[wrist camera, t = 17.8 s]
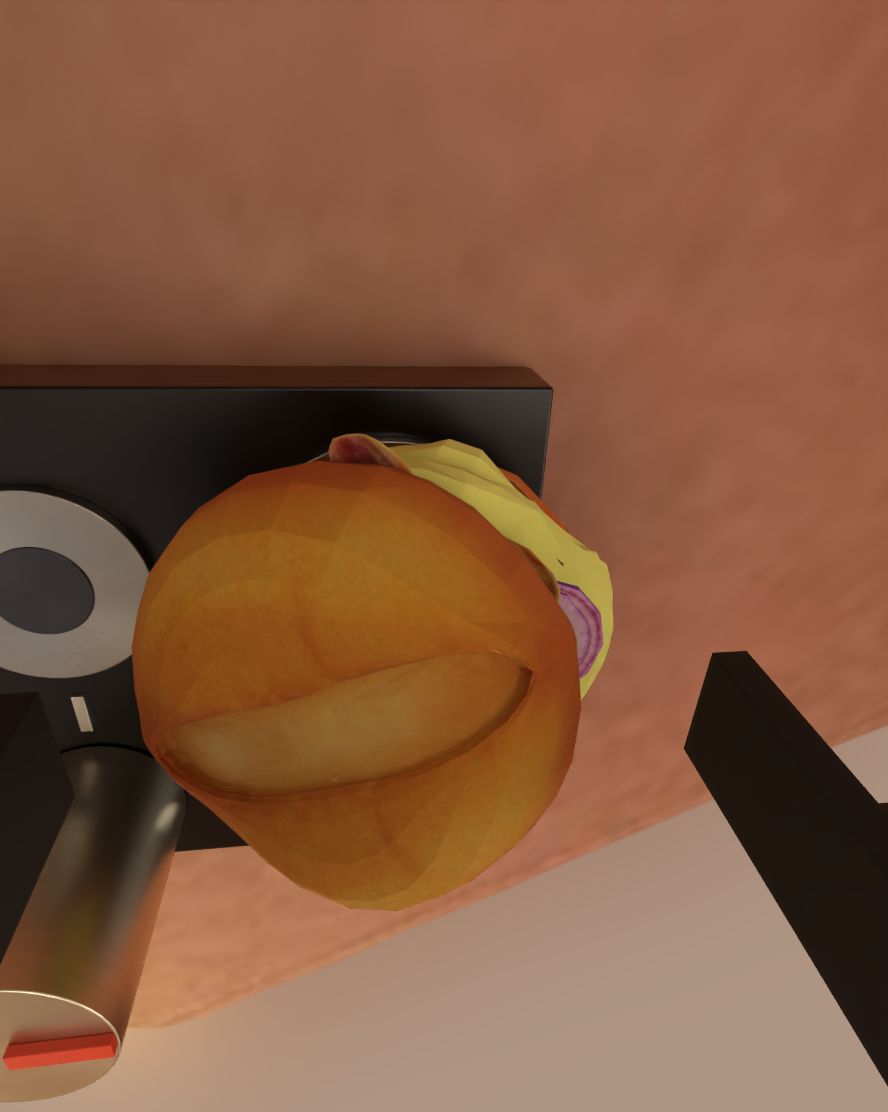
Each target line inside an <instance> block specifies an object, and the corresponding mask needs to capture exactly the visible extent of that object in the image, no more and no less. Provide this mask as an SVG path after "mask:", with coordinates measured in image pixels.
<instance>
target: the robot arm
mask: <svg viewBox="0 0 888 1112" xmlns="http://www.w3.org/2000/svg"><path fill="white" fill-rule="evenodd" d="M684 750H685V751H686V753H687V755H688V756H689V758H690V760H691V761H692V763H693V765H694V766H695V768H696V770H697V771H698V773H699V775H700V776H701V778H702V780H703V781H704V783H705V785H706V786H707V788H708V790H709V791H710V793H711V794H712V796H713V798H714V799H715V801H716V803H717V804H718V806H719V808H720V809H721V811H722V813H723V814H724V816H725V818H726V819H727V821H728V823H729V824H730V826H731V828H732V829H733V831H734V832H735V834H736V836H737V837H738V839H739V841H740V843H741V844H742V846H743V847H744V849H745V851H746V852H747V854H748V856H749V857H750V859H751V861H752V862H753V864H754V866H755V867H756V869H757V871H758V872H759V874H760V876H761V877H762V879H763V881H764V882H765V884H766V886H767V887H768V889H769V891H770V892H771V894H772V895H773V897H774V899H775V900H776V902H777V904H778V905H779V907H780V909H781V910H782V912H783V914H784V915H785V917H786V919H787V920H788V922H789V924H790V925H791V927H792V928H793V930H794V932H795V934H796V935H797V937H798V939H799V940H800V942H801V943H802V945H803V947H804V948H805V950H806V952H807V953H808V955H809V957H810V958H811V960H812V962H813V963H814V965H815V967H816V968H817V970H818V972H819V973H820V975H821V977H822V978H823V980H824V981H825V983H826V985H827V987H828V988H829V990H830V992H831V993H832V995H833V996H834V998H835V1000H836V1001H837V1003H838V1005H839V1006H840V1008H841V1010H842V1011H843V1013H844V1015H845V1016H846V1018H847V1020H848V1021H849V1023H850V1024H851V1026H852V1028H853V1029H854V1031H855V1033H856V1035H857V1036H858V1038H859V1040H860V1041H861V1043H862V1044H863V1046H864V1048H865V1049H866V1051H867V1053H868V1054H869V1056H870V1058H871V1059H872V1061H873V1063H874V1064H875V1066H876V1068H877V1069H878V1071H879V1073H880V1074H881V1076H882V1078H883V1079H884V1081H885V1083H886V1084H887V1086H888V803H877V801H876V800H875V799H874V798H873V796H872V795H871V794H870V793H869V792H868V791H867V790H866V788H865V787H864V786H863V785H862V784H861V783H860V782H859V780H858V779H857V778H856V777H855V776H854V775H853V773H852V772H851V771H850V770H849V769H848V768H847V767H846V765H845V764H844V763H843V762H842V761H841V760H840V759H839V757H838V756H837V755H836V754H835V753H834V752H833V750H832V749H831V748H830V747H829V746H828V745H827V743H826V742H825V741H824V740H823V739H822V738H821V736H820V735H819V734H818V733H817V732H816V731H815V730H814V728H813V727H812V726H811V725H810V724H809V723H808V721H807V720H806V719H805V718H804V717H803V716H802V715H801V713H800V712H799V711H798V710H797V709H796V708H795V706H794V705H793V704H792V703H791V702H790V701H789V700H788V698H787V697H786V696H785V695H784V694H783V693H782V691H781V690H780V689H779V688H778V687H777V686H776V685H775V683H774V682H773V681H772V680H771V679H770V678H769V676H768V675H767V674H766V673H765V672H764V671H763V670H762V668H761V667H760V666H759V665H758V664H757V663H756V661H755V660H754V659H753V658H752V657H751V656H750V655H749V653H748V652H747V651H738V652H720V653H712V656H711V659H710V663H709V666H708V669H707V673H706V676H705V679H704V683H703V686H702V689H701V693H700V696H699V699H698V703H697V706H696V709H695V713H694V716H693V719H692V723H691V726H690V729H689V733H688V736H687V739H686V743H685V746H684ZM74 798H75V794H74V791H73V789H72V786H71V783H70V780H69V777H68V774H67V772H66V769H65V766H64V763H63V760H62V757H61V755H60V752H59V749H58V746H57V743H56V741H55V738H54V735H53V732H52V729H51V726H50V724H49V721H48V718H47V715H46V712H45V709H44V707H43V704H42V701H41V698H40V695H39V693H38V692H27V693H9V694H0V965H1V962H2V960H3V958H4V956H5V953H6V951H7V949H8V947H9V944H10V942H11V940H12V938H13V935H14V933H15V931H16V928H17V926H18V924H19V922H20V919H21V917H22V915H23V913H24V910H25V908H26V906H27V904H28V901H29V899H30V897H31V895H32V892H33V890H34V888H35V886H36V883H37V881H38V879H39V877H40V874H41V872H42V870H43V868H44V865H45V863H46V861H47V859H48V856H49V854H50V852H51V849H52V847H53V845H54V843H55V840H56V838H57V836H58V834H59V831H60V829H61V827H62V825H63V822H64V820H65V818H66V816H67V813H68V811H69V809H70V807H71V804H72V802H73V800H74Z"/></svg>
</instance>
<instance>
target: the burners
mask: <svg viewBox="0 0 888 1112" xmlns="http://www.w3.org/2000/svg"><path fill="white" fill-rule="evenodd" d="M374 439H376V440H378V441H380V442H381V443H382V444H384V445H385V446H386V447H394V446H403V445H415V444H429V442H426V441H420V440H415V439H409V438H398V437H376V438H374ZM328 451H329V448H327V449H324V450H322V451H320V452H318V453H316V454H314V455H312V456H310V457H308V458H306V459H305V460H303V461H302V462H300V463H299V464H304V463H308V462H314V461H329V462H330V457H329V452H328ZM299 464H297V465H299ZM152 568H153V565H152V563H151V560H150V558H149V556H148V555H147V553H146V551H145V550H144V548H143V547H142V545H141V544H140V543H139V541H138V540H137V539H136V538H135V536H134V535H133V534H132V533H131V532H130V531H129V530H128V529H127V528H126V527H125V526H124V525H123V524H122V523H120V522H119V521H118V520H116V519H115V518H114V517H113V516H111V515H110V514H109V513H107V512H105V511H104V510H102V509H101V508H99V507H97V506H96V505H94V504H92V503H90V502H88V501H86V500H84V499H81V498H79V497H76V496H74V495H71V494H68V493H65V492H62V491H58V490H54V489H50V488H44V487H37V486H26V485H9V486H0V667H2V668H4V669H7V670H10V671H13V672H17V673H21V674H25V675H30V676H36V677H45V678H73V677H81V676H86V675H91V674H95V673H98V672H101V671H104V670H107V669H109V668H111V667H113V666H115V665H117V664H119V663H120V662H122V661H124V660H125V659H127V658H128V657H129V656H131V655H132V642H133V636H134V630H135V624H136V618H137V612H138V608H139V604H140V601H141V598H142V595H143V591H144V588H145V585H146V582H147V578H148V575H149V573H150V571H151V570H152Z"/></svg>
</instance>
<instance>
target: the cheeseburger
mask: <svg viewBox="0 0 888 1112" xmlns="http://www.w3.org/2000/svg"><path fill="white" fill-rule="evenodd" d="M328 452H329V457H330V462H329V461H314V462H308V463H304V464H299V465H294V466H290V467H285V468H280V469H276V470H271V471H266V472H262V473H257V474H252V475H248V476H247V477H245V478H244V479H242V480H241V481H239V482H238V483H236V484H234V485H233V486H231V487H230V488H228V489H227V490H225V491H224V492H222V493H221V494H219V495H218V496H216V497H215V498H213V499H212V500H210V501H209V502H207V503H205V504H204V505H202V506H201V507H199V508H198V509H197V510H196V511H195V512H194V513H193V515H192V516H191V517H190V518H189V519H188V520H187V521H186V522H185V523H184V524H183V525H182V526H181V528H180V529H179V531H178V532H177V533H176V535H175V536H174V538H173V539H172V541H171V542H170V544H169V545H168V547H167V548H166V549H165V551H164V552H163V554H162V555H161V557H160V558H159V560H158V561H157V563H156V564H155V565H154V567H153V568H152V570H151V571H150V573H149V575H148V578H147V582H146V585H145V588H144V591H143V595H142V598H141V601H140V604H139V608H138V612H137V618H136V624H135V630H134V636H133V642H132V659H133V675H134V690H135V695H136V700H137V704H138V709H139V714H140V722H141V731H142V736H143V739H144V742H145V744H146V746H147V747H148V749H149V750H150V752H151V753H152V755H153V756H154V758H155V759H156V761H157V762H158V763H159V764H160V765H161V766H162V767H163V769H164V770H165V771H166V772H167V773H168V774H169V775H170V776H171V778H172V779H173V780H174V781H175V782H176V783H178V784H179V785H180V786H181V787H182V788H184V789H185V790H186V791H187V792H188V793H190V794H191V795H192V796H194V797H195V798H196V799H198V800H199V801H200V802H201V803H203V804H204V805H205V806H207V807H208V808H209V809H210V810H212V811H213V812H214V813H215V814H216V815H217V816H218V817H219V818H220V819H221V820H222V821H224V822H225V823H226V824H227V825H228V826H229V827H230V828H231V829H232V830H233V831H235V832H236V833H237V834H238V835H239V836H240V837H241V838H242V839H243V840H244V841H245V842H246V843H247V844H248V845H250V846H251V847H252V848H253V849H254V850H255V851H256V852H257V853H258V854H259V855H260V856H261V857H262V858H263V859H264V860H265V861H266V862H267V863H269V864H270V865H271V866H273V867H274V868H275V869H277V870H278V871H279V872H281V873H282V874H283V875H285V876H286V877H287V878H289V879H290V880H291V881H293V882H294V883H295V884H297V885H298V886H299V887H301V888H304V889H306V890H308V891H311V892H313V893H315V894H318V895H320V896H323V897H325V898H327V899H330V900H332V901H334V902H337V903H339V904H341V905H344V906H346V907H349V908H354V909H372V910H389V911H398V910H401V909H404V908H407V907H410V906H413V905H416V904H419V903H422V902H425V901H428V900H431V899H434V898H436V897H439V896H441V895H443V894H445V893H447V892H449V891H451V890H454V889H456V888H458V887H460V886H462V885H464V884H466V883H468V882H470V881H472V880H473V879H475V878H476V877H477V876H478V875H480V874H481V873H482V872H483V871H485V870H486V869H487V868H488V867H489V866H491V865H492V864H493V863H494V862H496V861H497V860H498V859H499V858H501V857H502V856H503V855H504V854H506V853H507V852H508V851H509V850H511V849H512V848H513V847H514V846H515V845H516V844H517V843H518V842H519V841H520V840H521V839H522V838H523V837H524V836H525V835H526V834H527V833H528V832H529V831H530V830H531V829H532V828H533V827H534V825H535V824H536V823H537V821H538V820H539V819H540V817H541V816H542V815H543V813H544V812H545V811H546V809H547V808H548V807H549V805H550V804H551V803H552V801H553V800H554V799H555V797H556V796H557V794H558V792H559V790H560V787H561V785H562V783H563V781H564V778H565V776H566V774H567V772H568V769H569V767H570V765H571V763H572V760H573V754H574V748H575V742H576V736H577V729H578V723H579V717H580V711H581V699H582V698H583V697H584V695H585V694H586V693H587V691H588V690H589V688H590V686H591V684H592V682H593V681H594V679H595V677H596V675H597V673H598V672H599V670H600V668H601V666H602V665H603V663H604V660H605V657H606V654H607V652H608V649H609V646H610V639H611V636H612V633H613V629H614V626H613V612H612V598H613V589H612V585H611V581H610V577H609V572H608V568H607V564H606V563H604V562H603V561H601V560H600V559H599V557H598V555H597V552H595V551H593V550H591V549H588V548H587V547H586V546H585V545H584V544H582V543H581V542H580V541H578V540H577V539H575V538H574V537H572V536H571V535H570V534H568V531H567V528H566V526H565V525H564V524H563V523H562V522H561V521H560V520H559V518H558V517H557V516H556V515H555V514H554V513H553V512H552V511H551V510H550V509H549V508H548V507H547V506H546V505H545V504H544V503H543V502H542V501H541V500H540V499H539V498H538V497H537V495H536V494H535V493H534V492H533V491H532V490H531V489H530V488H529V487H528V486H527V485H526V484H525V483H524V482H523V481H522V480H521V479H520V478H519V477H518V476H517V475H515V474H513V473H510V472H508V471H505V470H503V469H501V468H498V467H496V465H495V464H494V463H493V462H492V461H491V460H490V459H489V457H488V456H487V455H486V454H485V453H484V452H483V450H481V449H478V448H475V447H472V446H469V445H466V444H463V443H460V442H457V441H454V440H451V439H447V440H443V441H438V442H434V443H429V444H415V445H403V446H394V447H386V446H385V445H384V444H382V443H381V442H380V441H378V440H376V439H374V438H372V437H370V436H368V435H365V434H358V433H357V434H346V435H342V436H339V437H336V438H333V439H332V442H331V444H330V447H329V451H328Z"/></svg>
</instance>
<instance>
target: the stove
mask: <svg viewBox="0 0 888 1112" xmlns="http://www.w3.org/2000/svg"><path fill="white" fill-rule="evenodd" d="M552 398H553V388H552V387H551V386H550V385H549V384H548V383H547V382H546V381H544V380H543V379H542V378H541V377H540V376H539V375H538V374H537V373H536V372H534V371H533V370H532V369H531V368H466V367H291V366H116V365H0V486H9V485H26V486H37V487H44V488H50V489H54V490H58V491H62V492H65V493H68V494H71V495H74V496H76V497H79V498H81V499H84V500H86V501H88V502H90V503H92V504H94V505H96V506H97V507H99V508H101V509H102V510H104V511H105V512H107V513H109V514H110V515H111V516H113V517H114V518H115V519H116V520H118V521H119V522H120V523H122V524H123V525H124V526H125V527H126V528H127V529H128V530H129V531H130V532H131V533H132V534H133V535H134V536H135V538H136V539H137V540H138V541H139V543H140V544H141V545H142V547H143V548H144V550H145V551H146V553H147V555H148V556H149V558H150V560H151V563H152V565H153V567H154V565H155V564H156V563H157V561H158V560H159V558H160V557H161V555H162V554H163V552H164V551H165V549H166V548H167V547H168V545H169V544H170V542H171V541H172V539H173V538H174V536H175V535H176V533H177V532H178V531H179V529H180V528H181V526H182V525H183V524H184V523H185V522H186V521H187V520H188V519H189V518H190V517H191V516H192V515H193V513H194V512H195V511H196V510H197V509H198V508H199V507H201V506H202V505H204V504H205V503H207V502H209V501H210V500H212V499H213V498H215V497H216V496H218V495H219V494H221V493H222V492H224V491H225V490H227V489H228V488H230V487H231V486H233V485H234V484H236V483H238V482H239V481H241V480H242V479H244V478H245V477H247V476H248V475H252V474H257V473H262V472H266V471H271V470H276V469H280V468H285V467H290V466H294V465H297V464H299V463H300V462H302V461H303V460H305V459H306V458H308V457H310V456H312V455H314V454H316V453H318V452H320V451H322V450H324V449H327V448H329V447H330V444H331V442H332V439H333V438H336V437H339V436H342V435H346V434H357V433H358V434H365V435H368V436H370V437H372V438H376V437H398V438H409V439H415V440H420V441H426V442H429V443H434V442H438V441H443V440H447V439H451V440H454V441H457V442H460V443H463V444H466V445H469V446H472V447H475V448H478V449H481V450H483V452H484V453H485V454H486V455H487V456H488V457H489V459H490V460H491V461H492V462H493V463H494V464H495V465H496V467H498V468H501V469H503V470H505V471H508V472H510V473H513V474H515V475H517V476H518V477H519V478H520V479H521V480H522V481H523V482H524V483H525V484H526V485H527V486H528V487H529V488H530V489H531V490H532V491H533V492H534V493H535V494H536V495H537V497H538V498H539V499H540V500H541V496H542V487H543V478H544V469H545V460H546V451H547V442H548V433H549V425H550V416H551V407H552ZM27 692H38V693H39V695H40V698H41V701H42V704H43V707H44V709H45V712H46V715H47V718H48V721H49V724H50V726H51V729H52V732H53V735H54V738H55V741H56V743H57V746H58V749H59V752H60V754H62V753H64V752H67V751H70V750H74V749H79V748H84V747H93V746H107V747H118V748H124V749H128V750H132V751H136V752H139V753H142V754H144V755H147V756H149V757H151V758H153V759H155V758H154V756H153V755H152V753H151V752H150V750H149V749H148V747H147V746H146V744H145V742H144V739H143V736H142V731H141V722H140V714H139V709H138V704H137V700H136V695H135V690H134V675H133V659H132V655H131V656H129V657H128V658H127V659H125V660H124V661H122V662H120V663H119V664H117V665H115V666H113V667H111V668H109V669H107V670H104V671H101V672H98V673H95V674H91V675H86V676H81V677H73V678H45V677H36V676H30V675H25V674H21V673H17V672H13V671H10V670H7V669H4V668H2V667H0V694H9V693H27ZM155 760H156V759H155ZM183 789H184V788H183ZM184 792H185V795H186V802H187V803H186V811H185V815H184V819H183V822H182V826H181V830H180V833H179V837H178V841H177V845H176V848H175V852H179V851H191V850H203V849H214V848H226V847H238V846H249V845H248V844H247V843H246V842H245V841H244V840H243V839H242V838H241V837H240V836H239V835H238V834H237V833H236V832H235V831H233V830H232V829H231V828H230V827H229V826H228V825H227V824H226V823H225V822H224V821H222V820H221V819H220V818H219V817H218V816H217V815H216V814H215V813H214V812H213V811H212V810H210V809H209V808H208V807H207V806H205V805H204V804H203V803H201V802H200V801H199V800H198V799H196V798H195V797H194V796H192V795H191V794H190V793H188V792H187V791H186V790H185V789H184Z"/></svg>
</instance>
